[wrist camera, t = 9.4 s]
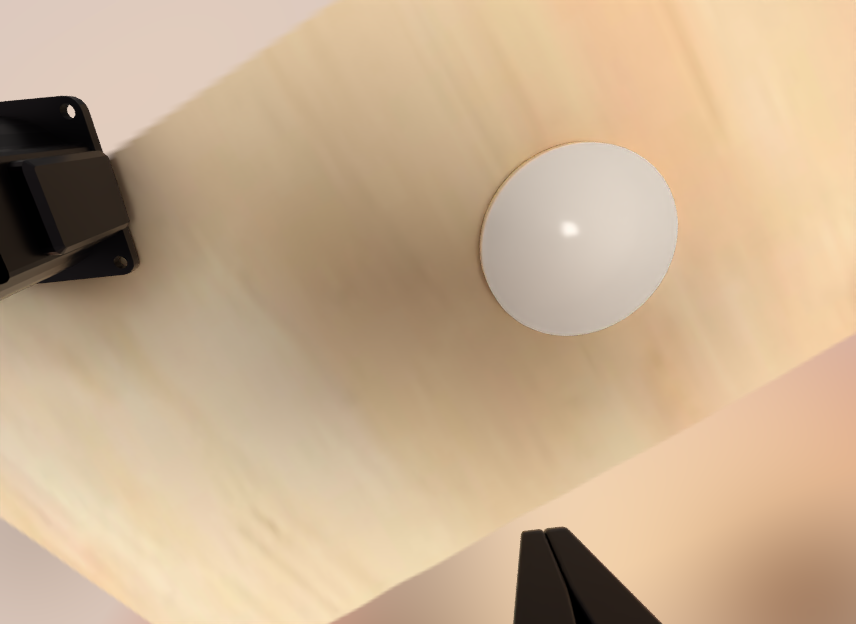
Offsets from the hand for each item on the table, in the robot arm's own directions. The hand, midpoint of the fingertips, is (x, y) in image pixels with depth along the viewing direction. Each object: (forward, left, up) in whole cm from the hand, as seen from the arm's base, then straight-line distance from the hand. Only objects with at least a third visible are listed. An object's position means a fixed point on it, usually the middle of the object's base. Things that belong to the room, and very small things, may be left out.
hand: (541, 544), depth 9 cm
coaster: (+5, +2, -13) cm, 14 cm away
